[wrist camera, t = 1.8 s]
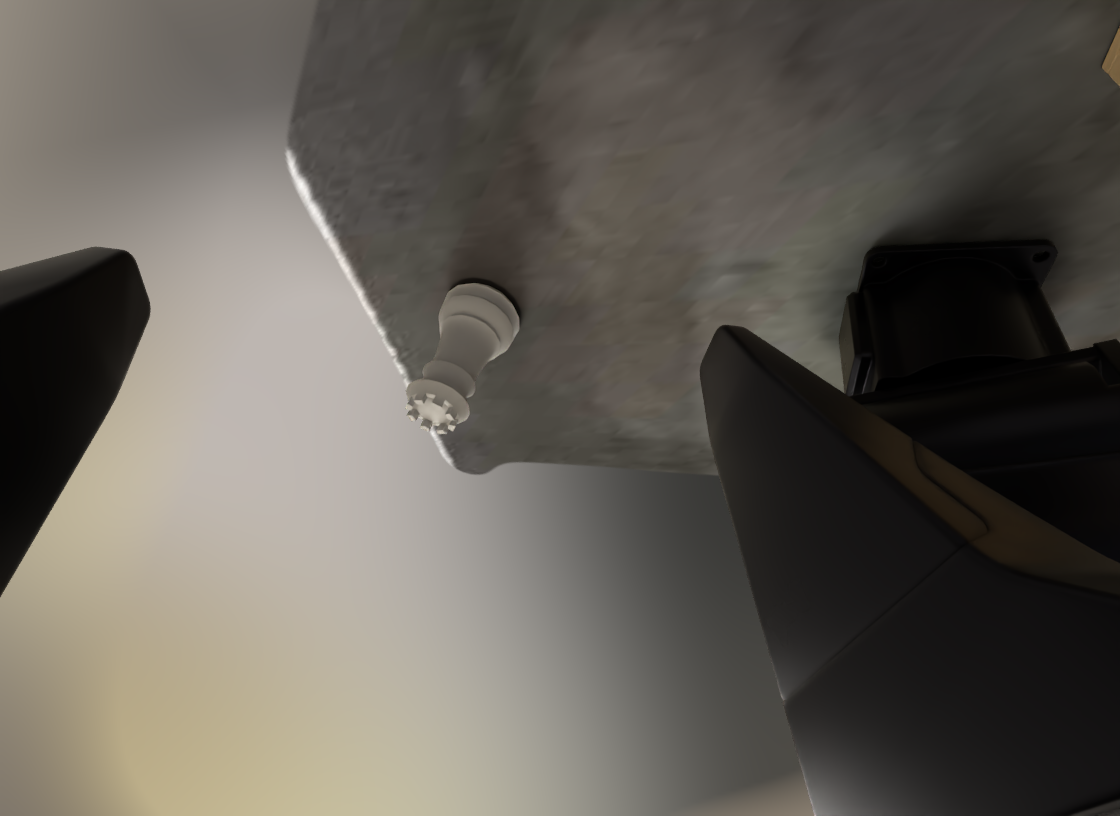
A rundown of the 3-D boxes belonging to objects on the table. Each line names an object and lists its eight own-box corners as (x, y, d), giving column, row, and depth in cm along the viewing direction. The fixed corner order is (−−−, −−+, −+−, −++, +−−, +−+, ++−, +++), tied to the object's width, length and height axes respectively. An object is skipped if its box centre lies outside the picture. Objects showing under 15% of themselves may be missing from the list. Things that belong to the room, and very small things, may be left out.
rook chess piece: (459, 337, 34) (405, 441, 29) (436, 276, 30) (371, 381, 25) (528, 342, 33) (484, 450, 28) (513, 279, 29) (460, 389, 24)
